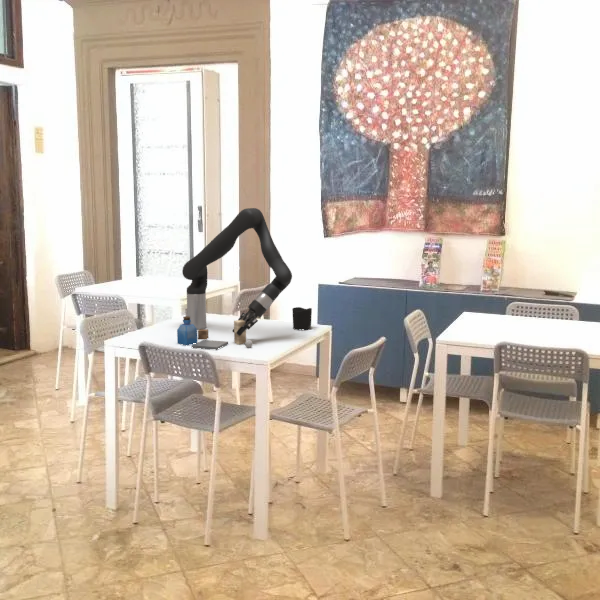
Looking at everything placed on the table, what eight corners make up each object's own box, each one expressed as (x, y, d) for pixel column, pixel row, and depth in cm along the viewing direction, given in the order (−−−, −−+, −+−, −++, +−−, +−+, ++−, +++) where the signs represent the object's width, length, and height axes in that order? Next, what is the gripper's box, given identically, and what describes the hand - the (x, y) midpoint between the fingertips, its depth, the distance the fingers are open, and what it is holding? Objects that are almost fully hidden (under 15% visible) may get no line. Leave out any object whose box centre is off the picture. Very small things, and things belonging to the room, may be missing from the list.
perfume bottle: (188, 341, 331) (187, 315, 329) (197, 343, 327) (196, 316, 325) (177, 343, 326) (176, 317, 324) (186, 345, 322) (185, 318, 320)
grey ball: (243, 347, 317) (243, 340, 317) (246, 346, 320) (246, 339, 320) (250, 348, 316) (250, 341, 316) (253, 346, 319) (253, 339, 319)
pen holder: (297, 331, 354) (297, 310, 352) (289, 327, 362) (289, 307, 360) (314, 329, 358) (315, 309, 356) (306, 326, 366) (306, 306, 364)
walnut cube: (198, 339, 335) (197, 330, 335) (199, 337, 339) (199, 329, 339) (206, 339, 335) (206, 331, 334) (208, 337, 339) (208, 329, 338)
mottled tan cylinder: (237, 344, 325) (237, 322, 323) (234, 342, 328) (234, 320, 327) (246, 343, 326) (245, 321, 325) (242, 341, 330) (242, 319, 328)
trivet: (191, 348, 317) (191, 345, 317) (203, 342, 328) (203, 339, 328) (216, 350, 313) (216, 347, 313) (228, 344, 325) (228, 341, 324)
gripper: (249, 297, 334) (224, 325, 330) (261, 301, 321) (236, 331, 318) (259, 307, 337) (235, 335, 333) (272, 312, 324) (247, 341, 321)
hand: (236, 333), depth 326 cm, fingers closed on mottled tan cylinder, 4 cm apart
